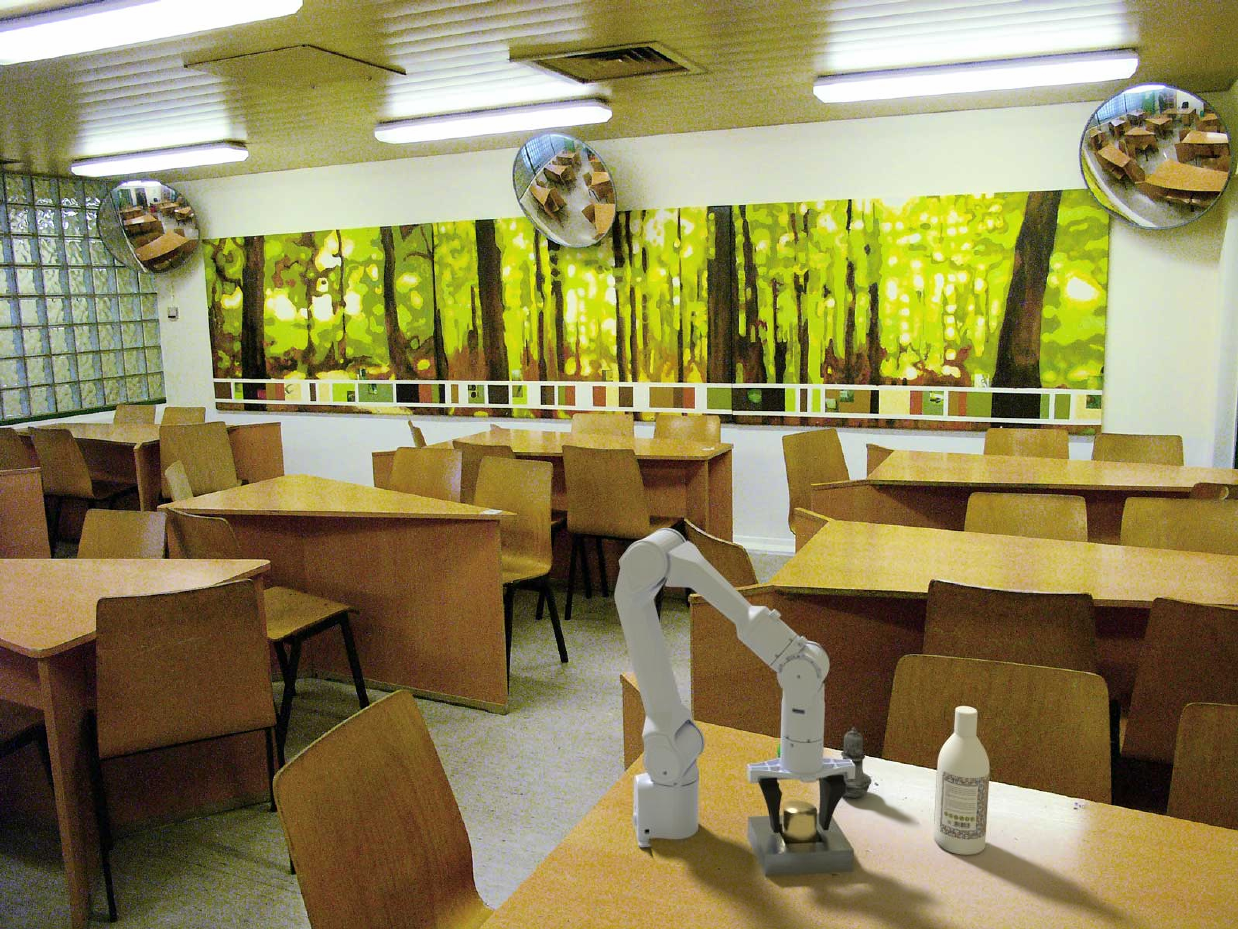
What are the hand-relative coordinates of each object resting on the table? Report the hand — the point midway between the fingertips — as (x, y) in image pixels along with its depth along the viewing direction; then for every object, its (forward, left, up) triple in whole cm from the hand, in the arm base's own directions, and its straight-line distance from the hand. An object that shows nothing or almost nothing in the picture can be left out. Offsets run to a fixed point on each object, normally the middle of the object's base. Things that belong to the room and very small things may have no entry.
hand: (799, 828), depth 135 cm
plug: (0, 0, -4) cm, 4 cm away
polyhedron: (+7, +28, -5) cm, 29 cm away
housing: (0, 0, -5) cm, 5 cm away
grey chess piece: (+13, +16, -5) cm, 21 cm away
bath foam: (+24, +2, -5) cm, 25 cm away
